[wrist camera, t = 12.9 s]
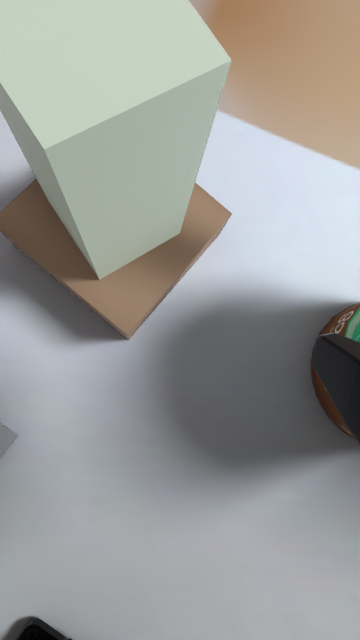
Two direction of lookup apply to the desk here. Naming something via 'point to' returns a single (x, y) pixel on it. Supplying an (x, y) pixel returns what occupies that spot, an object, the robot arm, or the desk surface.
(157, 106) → the sage block
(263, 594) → the desk surface
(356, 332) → the food container
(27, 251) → the walnut block
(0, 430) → the card
